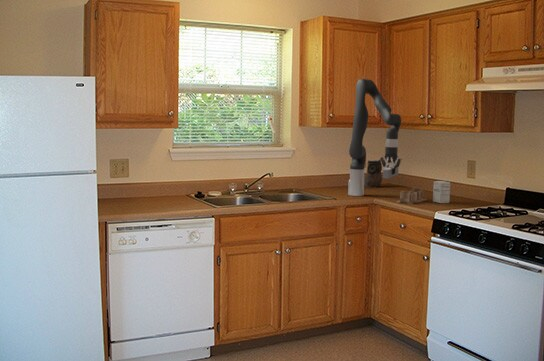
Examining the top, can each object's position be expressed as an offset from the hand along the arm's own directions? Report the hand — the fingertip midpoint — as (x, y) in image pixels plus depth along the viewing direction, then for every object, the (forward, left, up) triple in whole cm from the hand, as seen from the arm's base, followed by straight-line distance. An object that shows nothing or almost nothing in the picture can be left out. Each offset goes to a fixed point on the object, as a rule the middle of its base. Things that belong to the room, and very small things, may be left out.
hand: (390, 173), depth 396 cm
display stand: (+13, +3, -16) cm, 21 cm away
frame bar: (0, +1, -2) cm, 2 cm away
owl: (-42, +56, -17) cm, 72 cm away
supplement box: (+28, +13, -17) cm, 35 cm away
